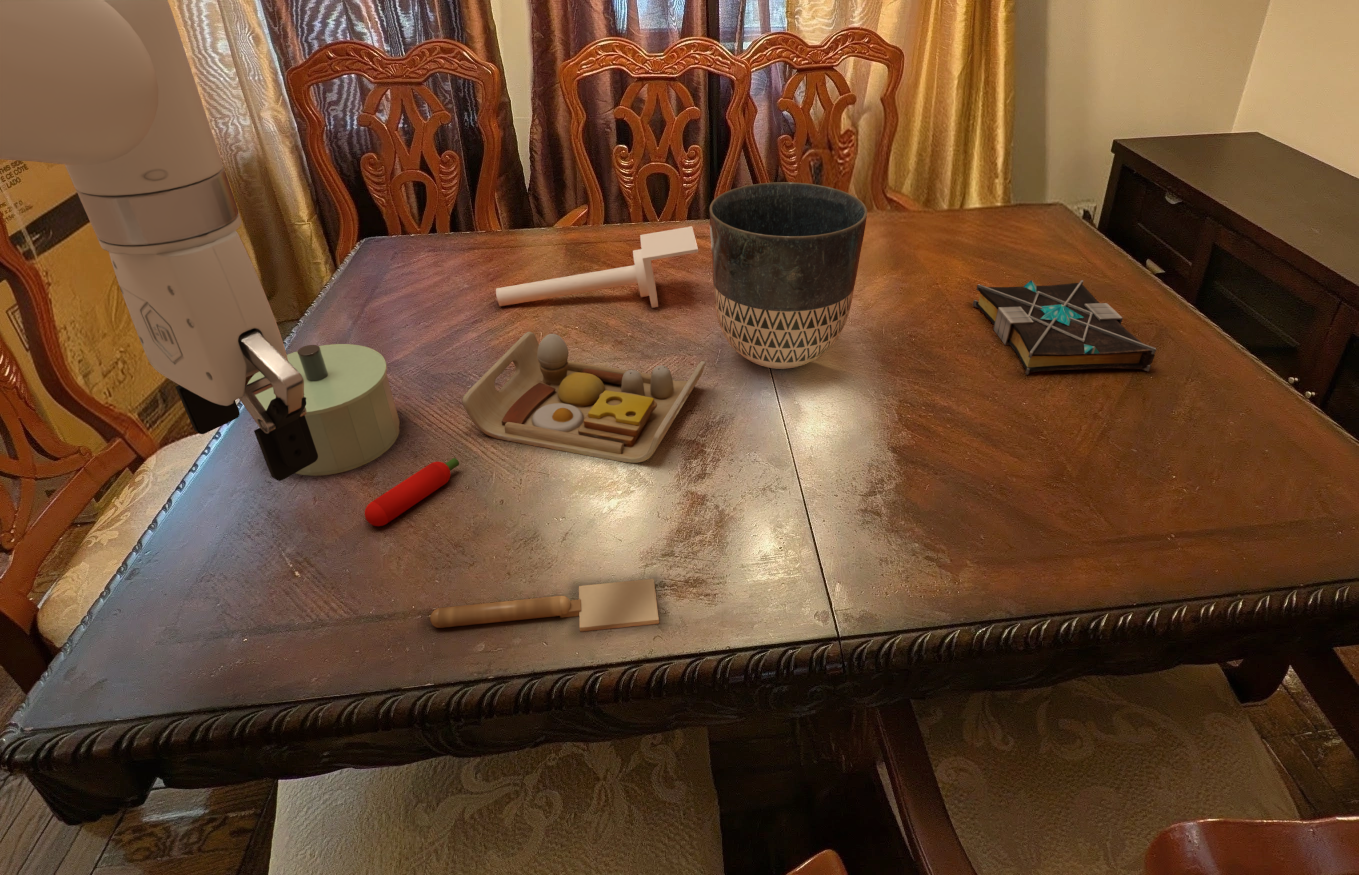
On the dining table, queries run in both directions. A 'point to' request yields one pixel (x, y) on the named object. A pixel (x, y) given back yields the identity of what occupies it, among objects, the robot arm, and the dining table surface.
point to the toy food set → (576, 402)
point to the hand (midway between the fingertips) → (256, 446)
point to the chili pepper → (409, 492)
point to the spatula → (566, 608)
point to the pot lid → (332, 375)
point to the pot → (353, 433)
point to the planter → (784, 268)
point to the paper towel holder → (610, 271)
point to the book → (1061, 328)
